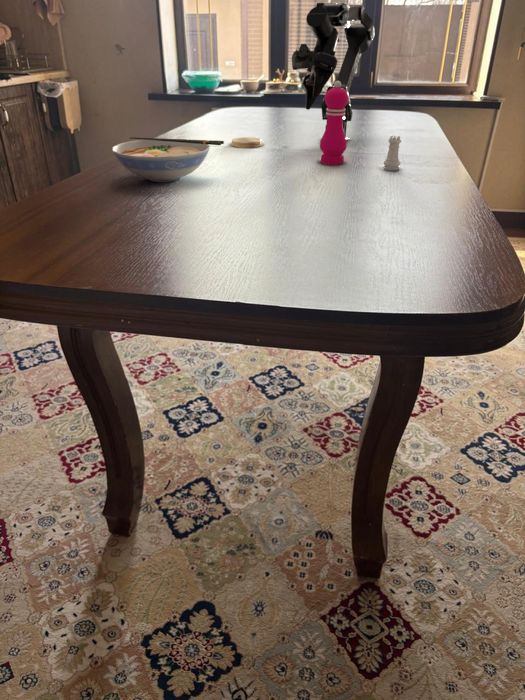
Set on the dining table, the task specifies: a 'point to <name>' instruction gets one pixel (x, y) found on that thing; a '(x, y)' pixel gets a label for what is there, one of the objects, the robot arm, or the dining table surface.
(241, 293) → the dining table surface
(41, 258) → the dining table surface
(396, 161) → the rook chess piece
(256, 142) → the beige flat disc
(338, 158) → the pepper mill
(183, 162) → the ramen bowl
